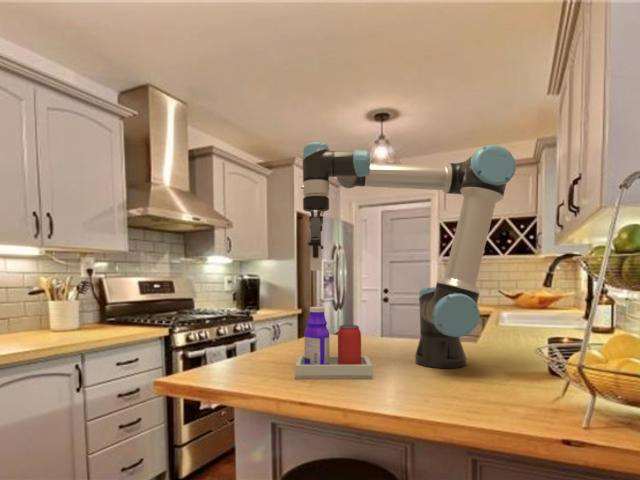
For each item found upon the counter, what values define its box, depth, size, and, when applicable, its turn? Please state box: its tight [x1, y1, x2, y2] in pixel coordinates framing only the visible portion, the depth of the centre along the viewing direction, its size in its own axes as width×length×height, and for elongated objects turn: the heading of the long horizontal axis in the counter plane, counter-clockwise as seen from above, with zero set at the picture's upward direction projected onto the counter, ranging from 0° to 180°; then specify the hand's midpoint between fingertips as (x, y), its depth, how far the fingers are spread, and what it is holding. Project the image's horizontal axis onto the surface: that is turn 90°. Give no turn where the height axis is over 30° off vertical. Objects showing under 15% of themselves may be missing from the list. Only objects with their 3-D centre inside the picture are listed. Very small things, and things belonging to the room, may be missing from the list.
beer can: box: [337, 324, 362, 365], centre depth 115 cm, size 7×7×12 cm
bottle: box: [303, 306, 330, 365], centre depth 115 cm, size 7×6×17 cm
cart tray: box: [294, 355, 373, 380], centre depth 115 cm, size 20×12×4 cm, turn 89°
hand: (316, 270), depth 117 cm, fingers open, 13 cm apart
